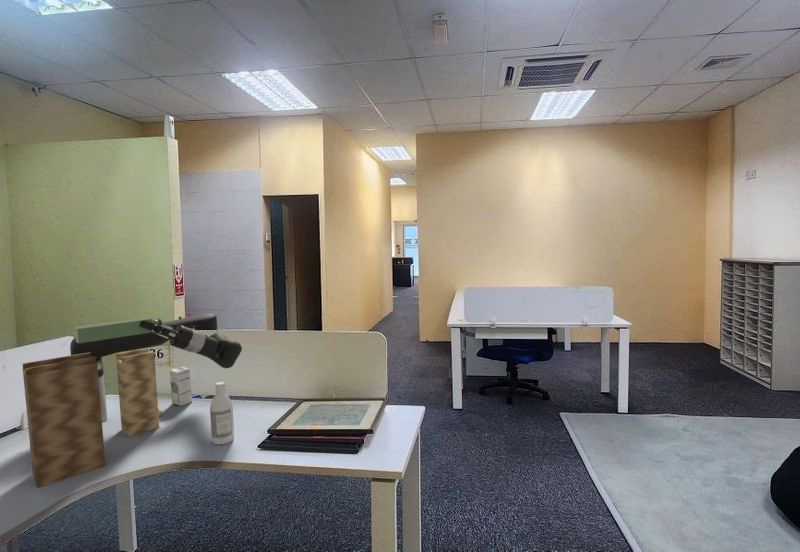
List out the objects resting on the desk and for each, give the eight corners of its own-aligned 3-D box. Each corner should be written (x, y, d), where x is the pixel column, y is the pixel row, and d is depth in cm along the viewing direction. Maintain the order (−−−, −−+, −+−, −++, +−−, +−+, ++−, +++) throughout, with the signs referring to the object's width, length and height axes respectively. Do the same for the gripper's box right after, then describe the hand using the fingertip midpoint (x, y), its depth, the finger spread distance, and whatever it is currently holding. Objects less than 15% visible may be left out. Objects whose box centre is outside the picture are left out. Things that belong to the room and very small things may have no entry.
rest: (127, 436, 151) (121, 357, 148) (121, 429, 156) (115, 353, 154) (159, 427, 158) (154, 352, 155) (152, 421, 163) (147, 348, 161)
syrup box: (192, 402, 182) (190, 368, 180) (179, 406, 177) (177, 372, 175) (184, 399, 185) (182, 366, 183) (171, 404, 180) (169, 369, 178)
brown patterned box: (37, 487, 121) (25, 370, 117) (32, 474, 127) (22, 362, 124) (105, 465, 132) (96, 357, 129) (97, 454, 139) (89, 351, 136)
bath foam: (216, 436, 150) (213, 379, 149) (236, 435, 151) (234, 379, 149) (208, 445, 144) (205, 387, 142) (229, 445, 144) (226, 386, 142)
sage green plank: (78, 343, 129) (77, 328, 129) (75, 341, 132) (74, 326, 132) (163, 330, 145) (162, 317, 145) (159, 328, 148) (158, 315, 148)
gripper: (185, 326, 159) (138, 309, 148) (200, 332, 149) (150, 314, 138) (175, 346, 157) (127, 329, 146) (190, 353, 147) (139, 336, 136)
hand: (138, 322), depth 142 cm, fingers closed on sage green plank, 4 cm apart
